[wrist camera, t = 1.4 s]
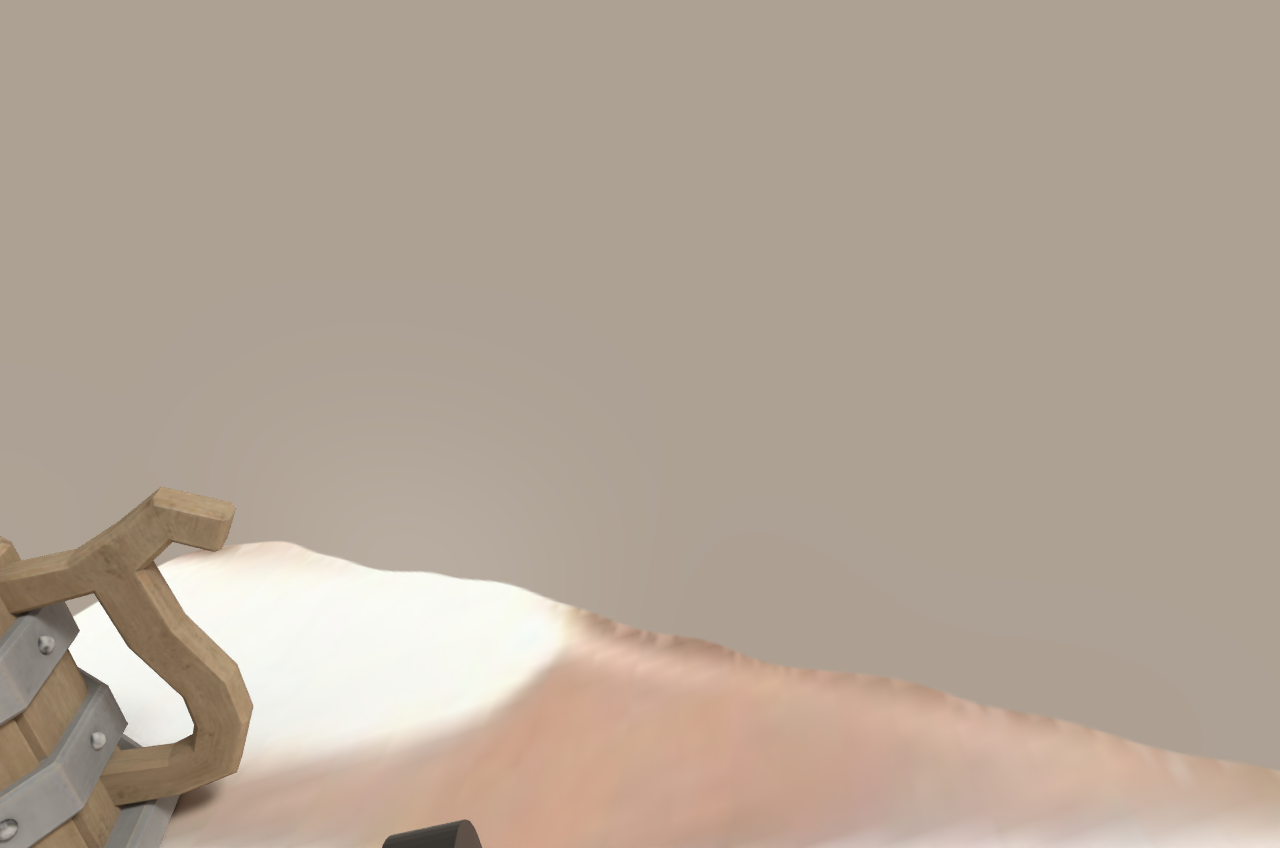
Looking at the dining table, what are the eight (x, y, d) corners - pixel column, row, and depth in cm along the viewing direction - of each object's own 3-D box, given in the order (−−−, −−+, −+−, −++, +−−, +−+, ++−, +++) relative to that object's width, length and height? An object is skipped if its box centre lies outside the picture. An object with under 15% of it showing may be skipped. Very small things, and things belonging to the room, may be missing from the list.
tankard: (-258, 1073, 32) (-555, 744, 26) (-62, 801, 44) (-238, 529, 38) (316, 923, 34) (156, 578, 28) (359, 698, 45) (253, 420, 39)
